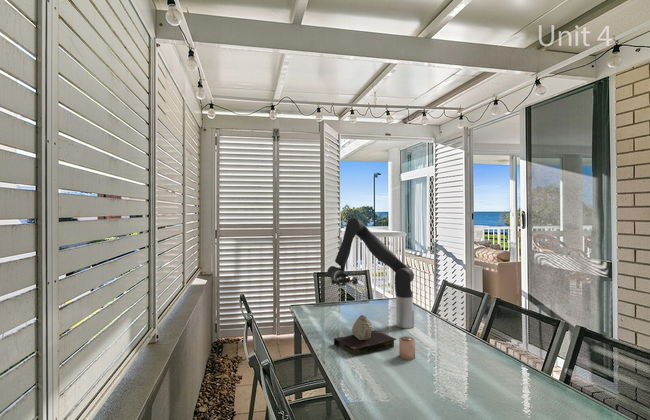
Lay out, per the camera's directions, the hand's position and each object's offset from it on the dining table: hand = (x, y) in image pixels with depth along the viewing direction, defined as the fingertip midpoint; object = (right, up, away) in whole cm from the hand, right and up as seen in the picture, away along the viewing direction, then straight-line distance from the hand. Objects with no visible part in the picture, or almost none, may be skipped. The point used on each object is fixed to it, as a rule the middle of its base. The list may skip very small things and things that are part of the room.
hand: (346, 283), depth 199 cm
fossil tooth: (+6, -24, -16) cm, 29 cm away
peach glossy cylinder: (+25, -27, -30) cm, 48 cm away
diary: (+8, -29, -16) cm, 34 cm away
